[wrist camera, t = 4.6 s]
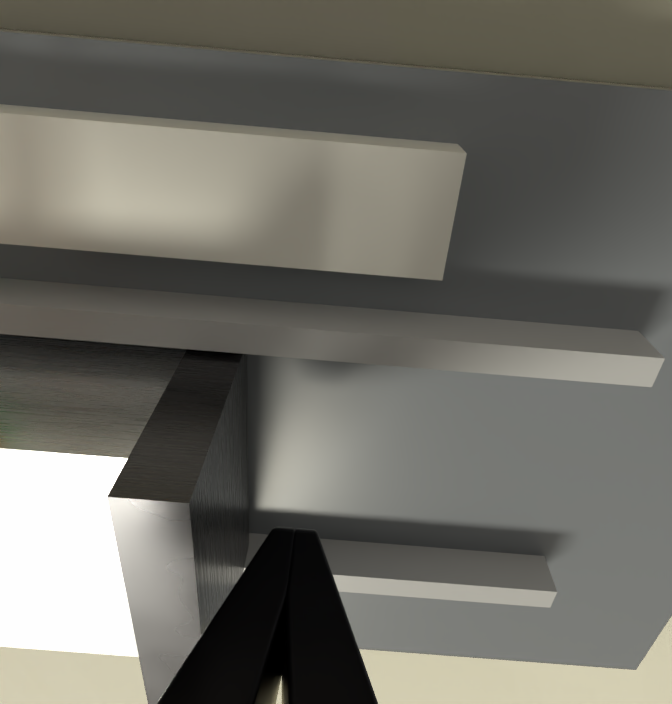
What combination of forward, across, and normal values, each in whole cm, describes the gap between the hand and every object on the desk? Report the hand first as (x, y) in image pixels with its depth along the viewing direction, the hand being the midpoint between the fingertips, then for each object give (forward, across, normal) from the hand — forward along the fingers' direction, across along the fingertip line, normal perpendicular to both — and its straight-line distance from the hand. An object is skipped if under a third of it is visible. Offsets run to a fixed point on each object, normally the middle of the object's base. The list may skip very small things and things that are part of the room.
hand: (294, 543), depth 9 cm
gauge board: (+4, +2, 0) cm, 4 cm away
